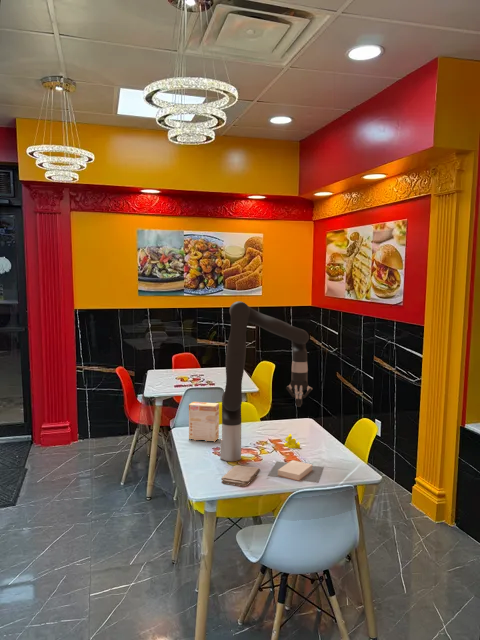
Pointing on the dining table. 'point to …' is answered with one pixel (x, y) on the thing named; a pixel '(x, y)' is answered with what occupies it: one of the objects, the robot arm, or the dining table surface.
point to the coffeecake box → (204, 421)
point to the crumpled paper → (291, 442)
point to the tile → (295, 470)
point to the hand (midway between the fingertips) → (298, 406)
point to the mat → (311, 477)
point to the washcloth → (240, 475)
